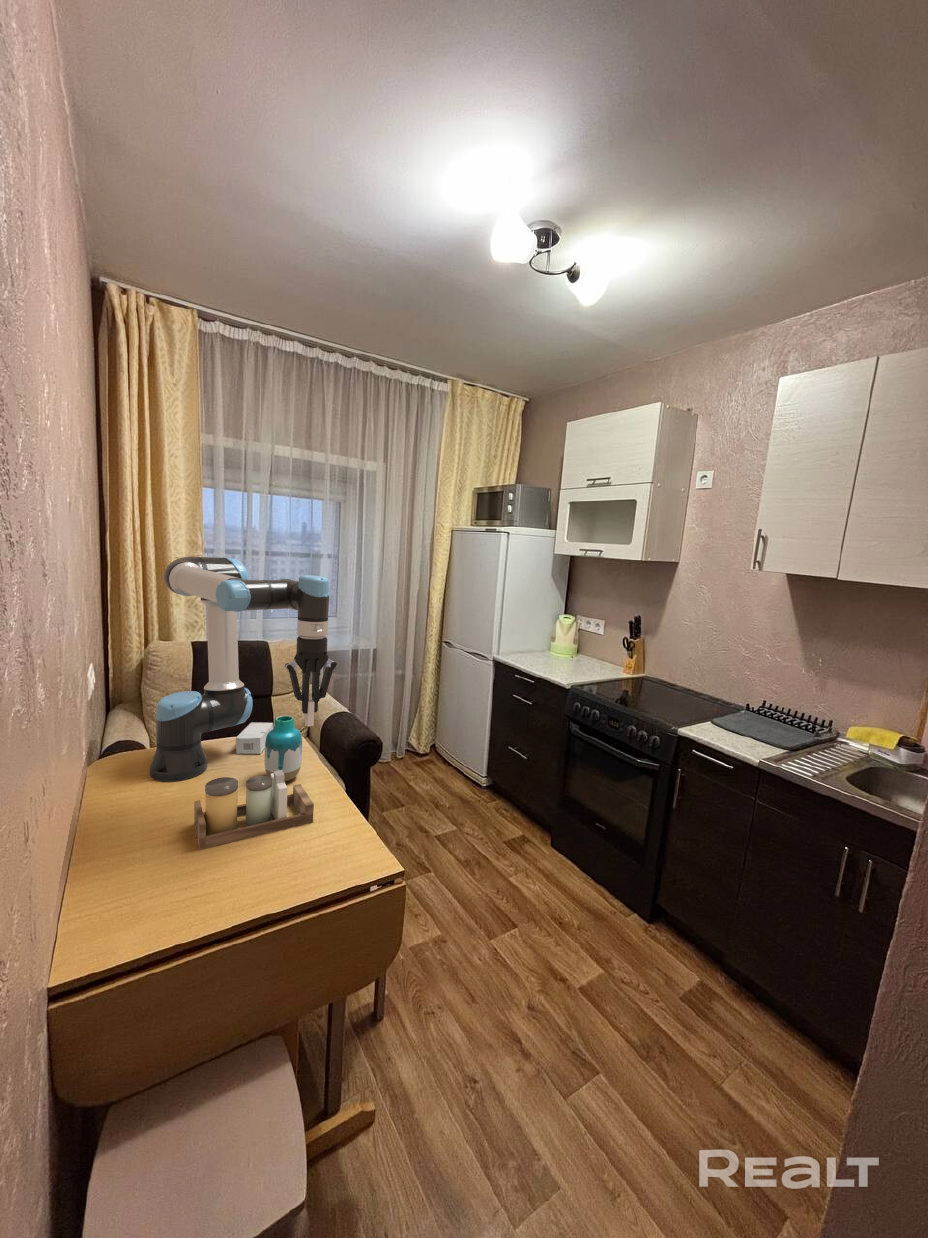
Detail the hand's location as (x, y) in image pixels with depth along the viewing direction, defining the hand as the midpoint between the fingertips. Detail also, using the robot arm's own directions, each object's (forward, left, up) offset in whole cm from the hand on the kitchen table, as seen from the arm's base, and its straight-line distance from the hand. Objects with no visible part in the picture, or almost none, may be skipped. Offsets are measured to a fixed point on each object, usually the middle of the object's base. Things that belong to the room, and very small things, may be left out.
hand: (309, 724), depth 128 cm
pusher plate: (0, -7, -24) cm, 25 cm away
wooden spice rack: (0, -13, -24) cm, 28 cm away
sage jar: (0, -12, -24) cm, 27 cm away
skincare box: (-42, -7, -22) cm, 48 cm away
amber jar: (0, -21, -24) cm, 32 cm away
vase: (-21, -1, -25) cm, 32 cm away
